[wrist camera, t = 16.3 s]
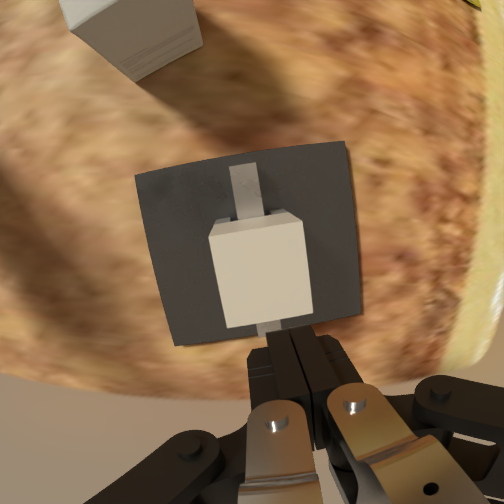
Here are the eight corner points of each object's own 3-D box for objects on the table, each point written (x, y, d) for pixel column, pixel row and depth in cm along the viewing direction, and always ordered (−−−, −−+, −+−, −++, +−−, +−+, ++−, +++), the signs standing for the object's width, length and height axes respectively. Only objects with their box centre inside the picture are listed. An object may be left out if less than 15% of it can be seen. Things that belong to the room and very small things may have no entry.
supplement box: (174, -5, 22) (146, -86, 10) (205, 47, 24) (187, -33, 11) (106, 31, 22) (45, -31, 10) (132, 86, 24) (67, 32, 12)
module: (216, 219, 26) (208, 236, 19) (282, 208, 26) (302, 220, 19) (229, 287, 28) (227, 328, 20) (292, 276, 28) (313, 313, 20)
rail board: (137, 175, 26) (124, 175, 22) (340, 142, 26) (354, 137, 23) (176, 341, 30) (170, 359, 26) (357, 309, 30) (370, 324, 26)
